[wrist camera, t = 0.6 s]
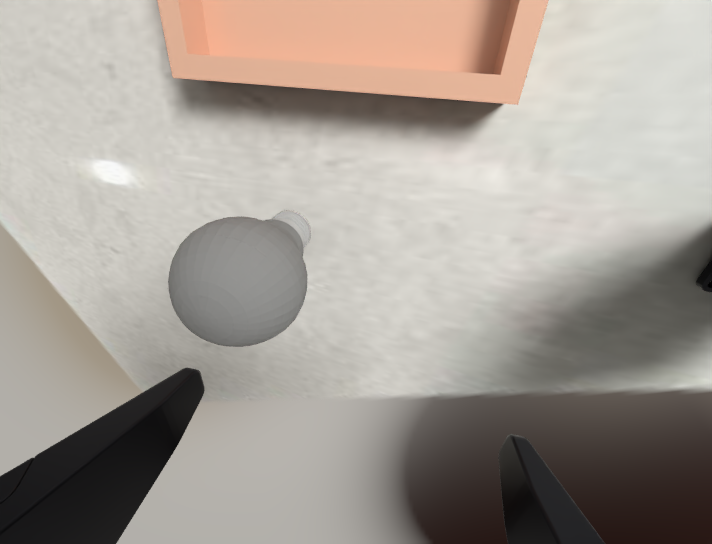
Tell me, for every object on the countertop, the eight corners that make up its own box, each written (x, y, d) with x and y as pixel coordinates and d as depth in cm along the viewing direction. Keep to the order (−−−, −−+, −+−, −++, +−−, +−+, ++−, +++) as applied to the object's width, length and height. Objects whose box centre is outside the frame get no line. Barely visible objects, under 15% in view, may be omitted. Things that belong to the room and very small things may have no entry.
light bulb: (235, 201, 20) (99, 277, 12) (313, 166, 18) (218, 228, 10) (279, 276, 22) (194, 385, 14) (352, 253, 20) (305, 364, 12)
